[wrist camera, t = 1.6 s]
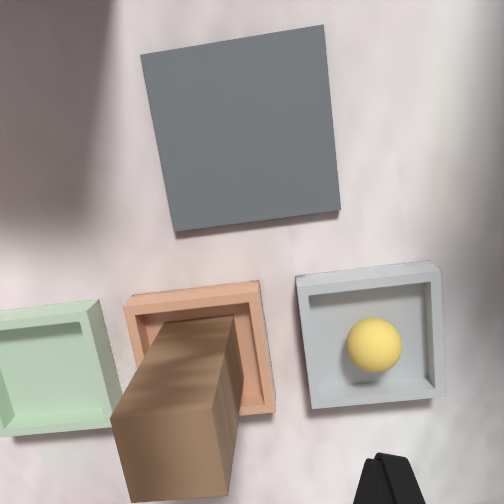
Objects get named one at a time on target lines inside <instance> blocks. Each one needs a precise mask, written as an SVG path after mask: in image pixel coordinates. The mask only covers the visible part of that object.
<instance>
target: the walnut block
mask: <svg viewBox="0 0 504 504" xmlns="http://www.w3.org/2000/svg"><path fill="white" fill-rule="evenodd" d="M243 382H244V374H243V368H242V362H241V356H240V350H239V344H238V338H237V332H236V326H235V320H234V314H233V315H224V316H215V317H206V318H197V319H188V320H179V321H170V322H164V323H163V325H162V327H161V329H160V330H159V332H158V334H157V336H156V337H155V339H154V341H153V343H152V344H151V346H150V348H149V350H148V352H147V353H146V355H145V357H144V359H143V360H142V362H141V364H140V366H139V367H138V369H137V371H136V373H135V374H134V376H133V378H132V380H131V381H130V383H129V385H128V387H127V389H126V390H125V392H124V394H123V396H122V397H121V399H120V401H119V403H118V404H117V406H116V408H115V410H114V411H113V413H112V415H111V417H110V422H111V426H112V430H113V434H114V438H115V441H116V445H117V449H118V453H119V457H120V461H121V465H122V469H123V472H124V476H125V480H126V484H127V488H128V492H129V496H130V500H131V503H138V502H151V501H164V500H178V499H191V498H204V497H218V496H228V492H229V485H230V477H231V470H232V463H233V455H234V448H235V441H236V433H237V426H238V418H239V411H240V404H241V396H242V389H243Z"/></svg>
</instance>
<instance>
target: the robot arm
mask: <svg viewBox="0 0 504 504" xmlns="http://www.w3.org/2000/svg"><path fill="white" fill-rule="evenodd" d="M353 504H426V503H425V501H424V498H423V496H422V493H421V491H420V488H419V485H418V483H417V480H416V478H415V475H414V473H413V470H412V468H411V465H410V463H409V461H408V459H407V458H405V457H401V456H396V455H390V454H384V453H377V454H376V455H375V458H374V459H369V458H368V459H366V461H365V463H364V467H363V470H362V474H361V477H360V481H359V484H358V488H357V491H356V495H355V498H354V502H353Z"/></svg>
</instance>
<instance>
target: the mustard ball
mask: <svg viewBox="0 0 504 504" xmlns="http://www.w3.org/2000/svg"><path fill="white" fill-rule="evenodd" d="M346 347H347V352H348V355H349V357H350V359H351V360H352V361H353V363H354V364H355V365H356V366H358V367H359V368H361V369H362V370H364V371H367V372H372V373H379V372H384V371H387V370H389V369H390V368H392V367H393V366H394V365H395V364H396V363H397V361H398V360H399V358H400V356H401V352H402V341H401V337H400V335H399V333H398V331H397V330H396V328H395V327H394V326H393V325H391V324H390V323H389V322H387V321H385V320H383V319H380V318H366V319H363V320H361V321H359V322H357V323H356V324H355V325H354V326H353V327H352V328H351V330H350V331H349V333H348V336H347V342H346Z"/></svg>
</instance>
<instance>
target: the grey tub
mask: <svg viewBox="0 0 504 504" xmlns="http://www.w3.org/2000/svg"><path fill="white" fill-rule="evenodd" d="M296 285H297V293H298V301H299V309H300V317H301V325H302V333H303V342H304V350H305V358H306V366H307V374H308V382H309V390H310V398H311V406H312V409H319V408H330V407H341V406H352V405H363V404H374V403H385V402H396V401H407V400H418V399H429V398H440V397H446V385H445V359H444V332H443V306H442V280H441V270H440V269H439V268H438V267H437V266H436V265H435V264H434V263H433V262H432V261H430V260H428V261H419V262H411V263H402V264H394V265H385V266H377V267H368V268H360V269H351V270H343V271H334V272H326V273H317V274H308V275H300V276H296ZM366 318H380V319H383V320H385V321H387V322H389V323H390V324H391V325H393V326H394V327H395V328H396V330H397V331H398V333H399V335H400V337H401V341H402V352H401V356H400V358H399V360H398V361H397V363H396V364H395V365H394V366H393V367H392V368H390V369H389V370H387V371H384V372H379V373H372V372H367V371H364V370H362V369H361V368H359V367H358V366H356V365H355V364H354V363H353V361H352V360H351V359H350V357H349V355H348V352H347V347H346V342H347V336H348V333H349V331H350V330H351V328H352V327H353V326H354V325H355V324H356V323H357V322H359V321H361V320H363V319H366Z"/></svg>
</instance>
